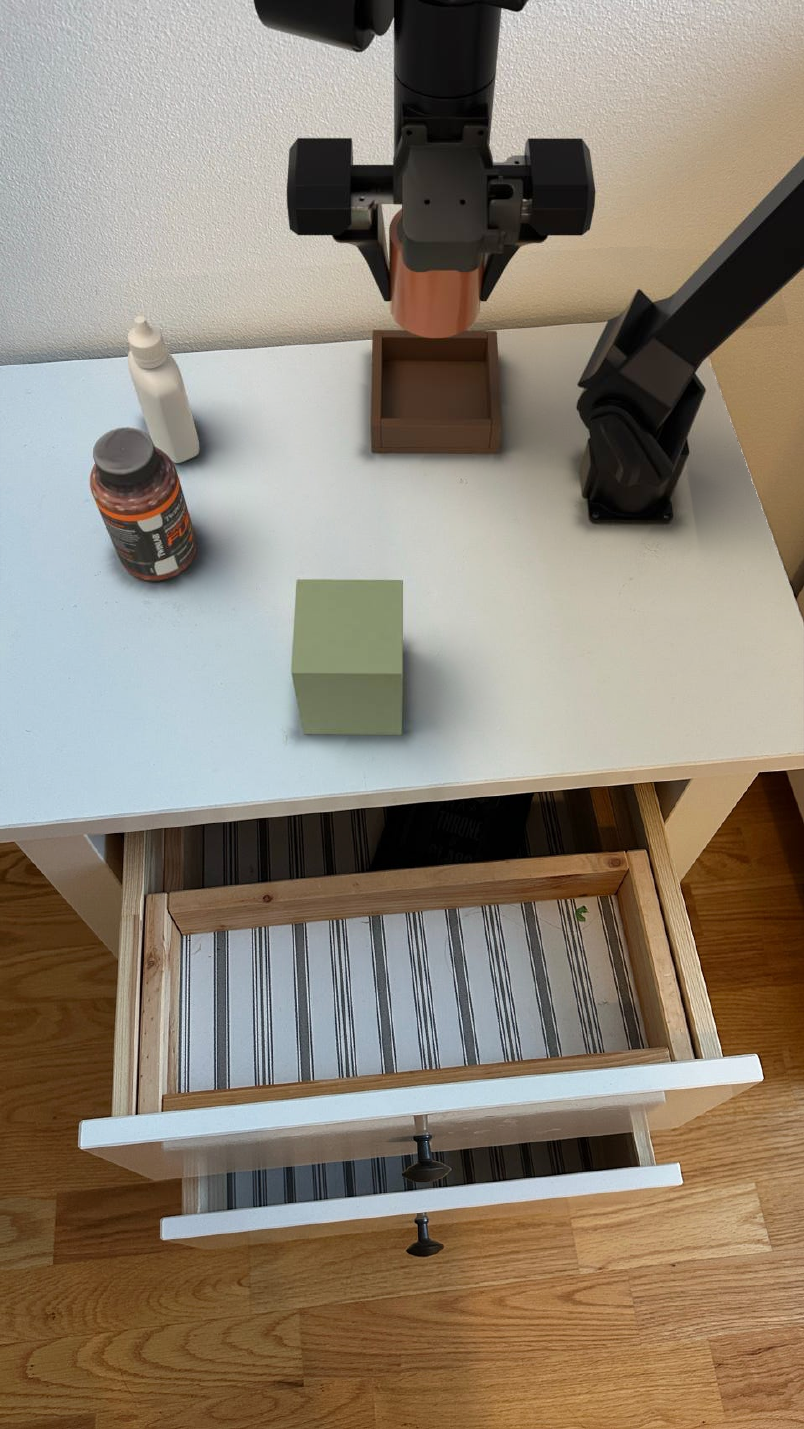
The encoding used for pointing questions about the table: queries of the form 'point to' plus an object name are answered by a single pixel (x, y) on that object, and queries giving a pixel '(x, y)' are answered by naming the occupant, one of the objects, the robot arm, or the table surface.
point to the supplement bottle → (142, 505)
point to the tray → (435, 393)
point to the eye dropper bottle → (161, 393)
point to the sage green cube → (348, 656)
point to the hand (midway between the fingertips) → (434, 297)
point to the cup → (431, 294)
